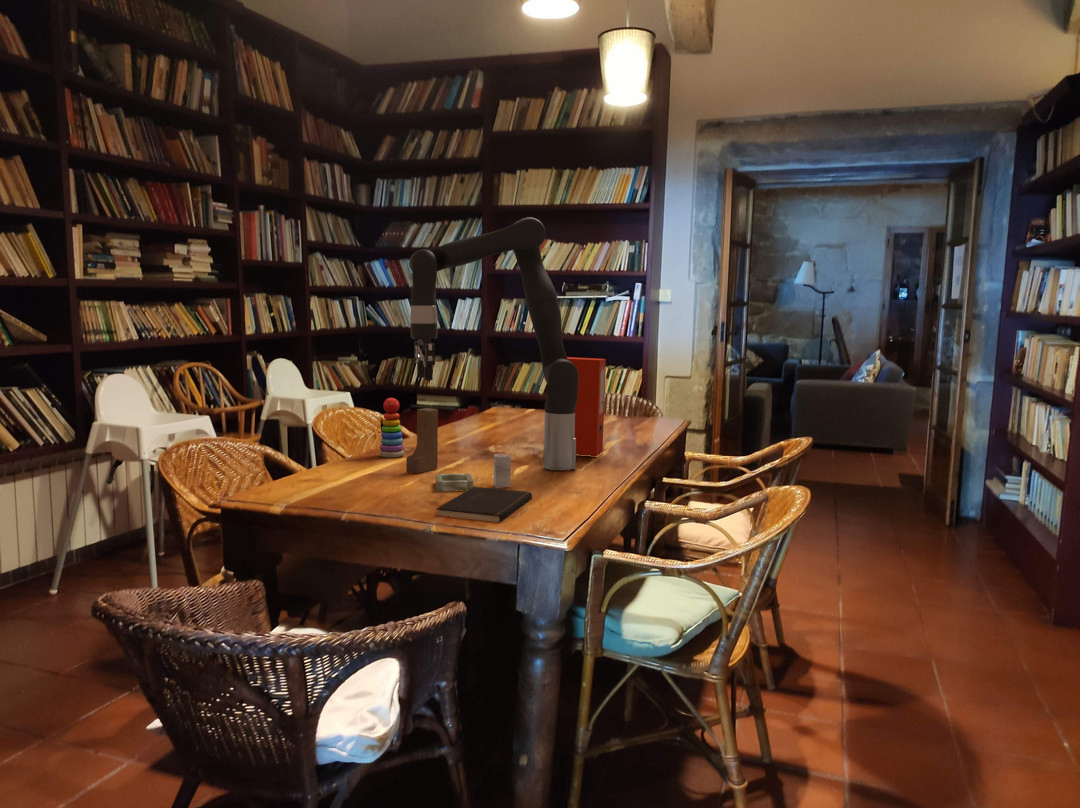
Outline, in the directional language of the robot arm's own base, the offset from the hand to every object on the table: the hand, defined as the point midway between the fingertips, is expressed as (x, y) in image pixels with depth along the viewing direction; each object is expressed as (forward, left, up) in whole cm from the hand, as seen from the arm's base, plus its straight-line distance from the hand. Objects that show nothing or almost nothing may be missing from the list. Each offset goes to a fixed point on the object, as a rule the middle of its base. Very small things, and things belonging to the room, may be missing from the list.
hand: (424, 378), depth 217 cm
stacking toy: (+10, -26, -28) cm, 39 cm away
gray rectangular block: (-20, +17, -28) cm, 38 cm away
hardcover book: (-14, +38, -28) cm, 50 cm away
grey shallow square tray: (-7, +17, -28) cm, 33 cm away
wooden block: (+1, -4, -28) cm, 28 cm away
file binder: (-50, -26, -28) cm, 63 cm away
